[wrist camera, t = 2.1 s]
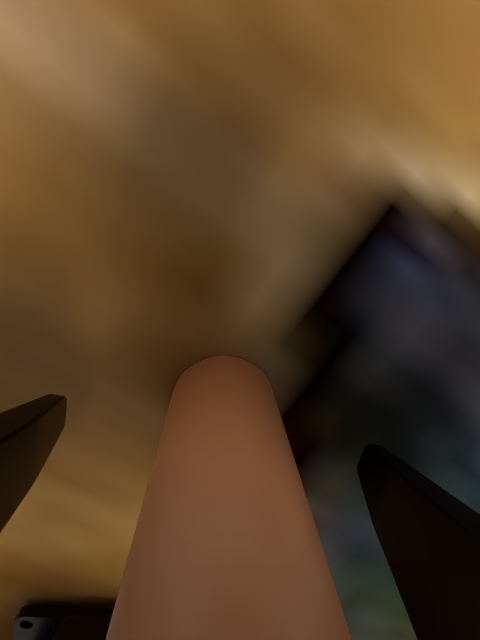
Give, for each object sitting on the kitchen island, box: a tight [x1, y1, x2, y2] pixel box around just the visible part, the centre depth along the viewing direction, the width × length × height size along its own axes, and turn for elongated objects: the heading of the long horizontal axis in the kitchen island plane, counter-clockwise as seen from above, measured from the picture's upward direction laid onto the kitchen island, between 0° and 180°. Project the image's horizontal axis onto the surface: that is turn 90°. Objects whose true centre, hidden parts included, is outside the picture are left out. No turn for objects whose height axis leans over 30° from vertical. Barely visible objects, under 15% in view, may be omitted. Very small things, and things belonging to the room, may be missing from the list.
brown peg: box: [106, 356, 352, 640], centre depth 7 cm, size 4×4×8 cm
